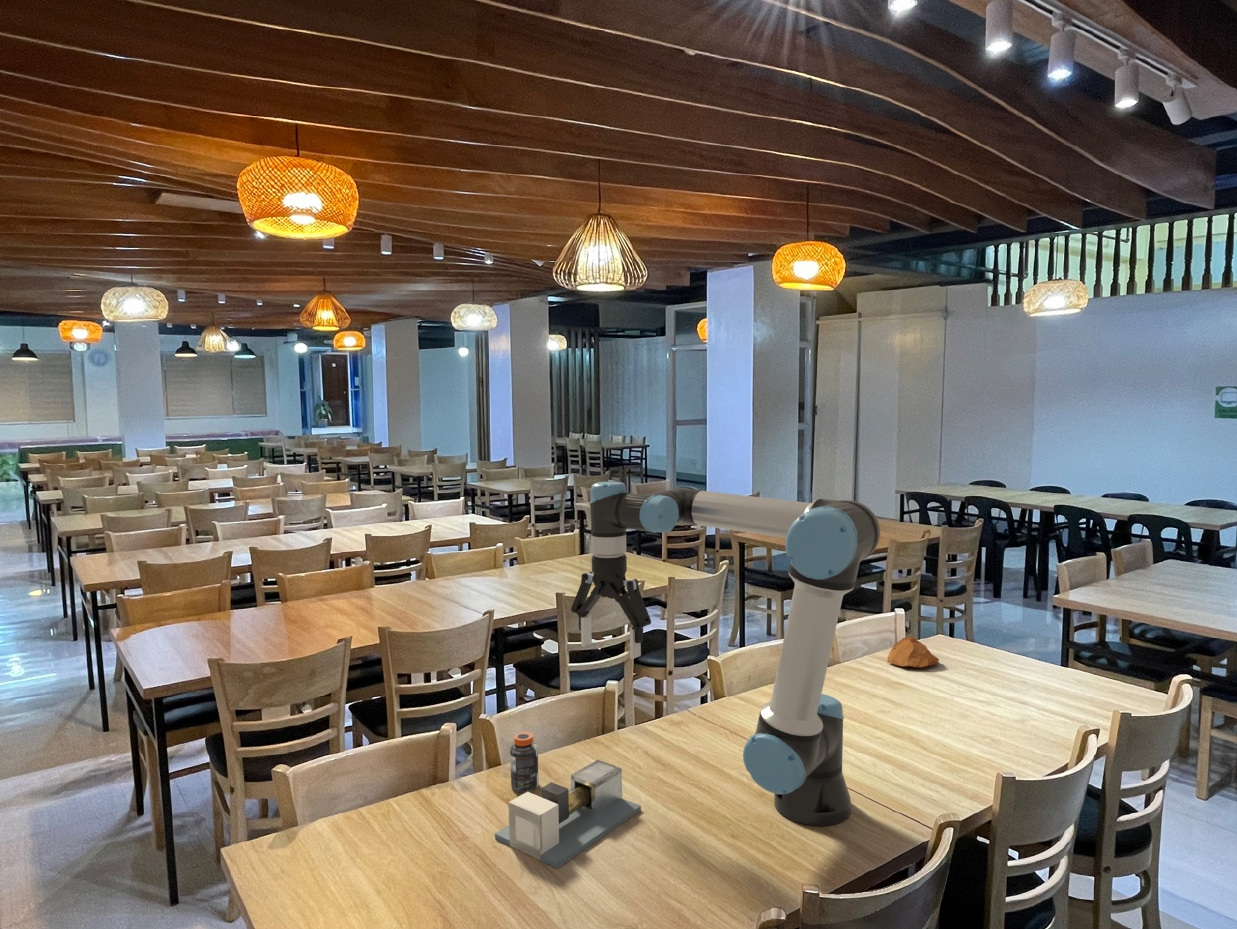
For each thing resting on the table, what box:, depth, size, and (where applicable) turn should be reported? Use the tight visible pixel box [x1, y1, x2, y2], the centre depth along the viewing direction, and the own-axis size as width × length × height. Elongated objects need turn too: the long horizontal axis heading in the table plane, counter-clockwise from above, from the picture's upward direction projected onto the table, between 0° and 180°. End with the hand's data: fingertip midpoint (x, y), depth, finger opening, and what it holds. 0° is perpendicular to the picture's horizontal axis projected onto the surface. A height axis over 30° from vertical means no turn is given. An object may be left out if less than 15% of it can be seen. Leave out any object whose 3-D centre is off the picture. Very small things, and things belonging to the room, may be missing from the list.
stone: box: [886, 636, 940, 668], centre depth 249 cm, size 15×15×10 cm
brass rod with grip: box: [540, 781, 592, 824], centre depth 156 cm, size 4×15×7 cm, turn 142°
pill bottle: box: [509, 732, 540, 793], centre depth 173 cm, size 6×6×11 cm
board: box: [494, 788, 642, 869], centre depth 158 cm, size 16×25×1 cm, turn 142°
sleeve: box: [570, 759, 623, 816], centre depth 164 cm, size 6×8×6 cm
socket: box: [508, 791, 559, 862], centre depth 150 cm, size 8×5×8 cm, turn 52°
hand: (610, 651), depth 174 cm, fingers open, 13 cm apart
